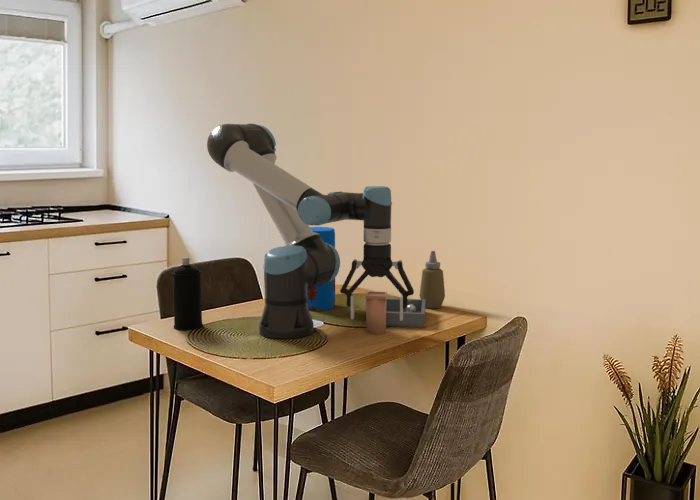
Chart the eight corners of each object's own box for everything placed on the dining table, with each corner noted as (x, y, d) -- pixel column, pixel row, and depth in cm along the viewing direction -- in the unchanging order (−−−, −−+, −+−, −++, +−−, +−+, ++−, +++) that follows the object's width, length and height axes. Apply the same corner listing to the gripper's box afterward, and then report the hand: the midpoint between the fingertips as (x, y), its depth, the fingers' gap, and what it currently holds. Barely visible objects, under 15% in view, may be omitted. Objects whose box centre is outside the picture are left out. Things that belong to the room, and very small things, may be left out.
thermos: (296, 309, 226) (295, 230, 222) (308, 301, 237) (307, 226, 232) (329, 311, 223) (328, 231, 219) (339, 304, 233) (339, 227, 229)
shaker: (365, 334, 198) (365, 296, 197) (367, 328, 204) (367, 291, 202) (385, 334, 198) (385, 296, 196) (386, 329, 203) (387, 292, 202)
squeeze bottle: (415, 308, 228) (416, 252, 225) (424, 302, 235) (425, 248, 232) (439, 311, 224) (440, 254, 221) (448, 305, 231) (449, 250, 228)
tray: (368, 325, 207) (368, 312, 207) (373, 310, 225) (373, 298, 224) (424, 327, 205) (424, 313, 205) (425, 312, 223) (425, 299, 222)
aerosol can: (196, 331, 202) (193, 260, 198) (168, 329, 203) (165, 259, 200) (207, 323, 210) (205, 255, 206) (181, 322, 211) (178, 254, 208)
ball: (409, 311, 215) (416, 304, 216) (402, 307, 217) (409, 300, 218) (412, 317, 217) (419, 311, 218) (405, 313, 219) (412, 306, 220)
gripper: (330, 244, 195) (330, 320, 198) (422, 246, 192) (421, 323, 195) (334, 240, 202) (334, 314, 205) (423, 241, 199) (422, 316, 203)
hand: (376, 318), depth 200 cm, fingers open, 13 cm apart
